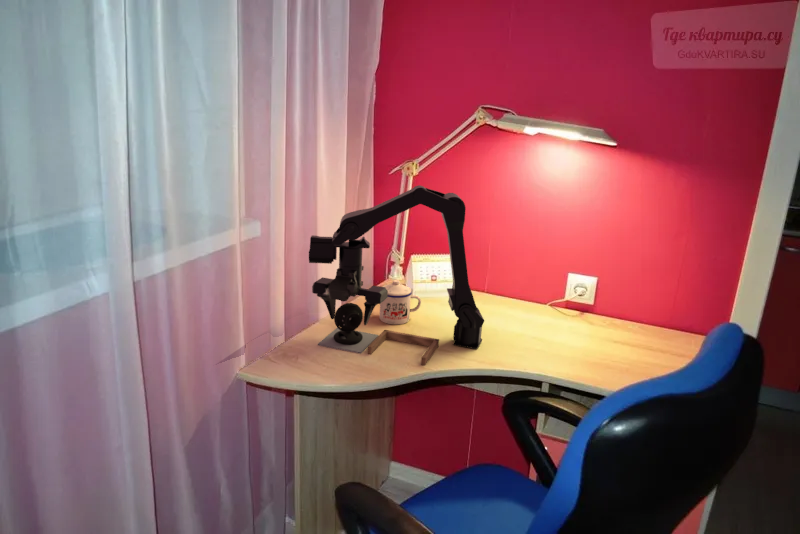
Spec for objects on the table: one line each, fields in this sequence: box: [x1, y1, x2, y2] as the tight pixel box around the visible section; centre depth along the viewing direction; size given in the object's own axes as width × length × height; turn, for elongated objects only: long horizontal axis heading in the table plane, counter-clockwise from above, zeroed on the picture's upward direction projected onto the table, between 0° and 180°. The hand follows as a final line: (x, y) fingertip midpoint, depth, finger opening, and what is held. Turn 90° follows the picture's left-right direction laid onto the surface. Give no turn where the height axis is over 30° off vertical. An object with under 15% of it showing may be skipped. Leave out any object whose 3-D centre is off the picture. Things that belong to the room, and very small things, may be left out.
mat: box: [317, 327, 380, 355], centre depth 156 cm, size 12×12×1 cm
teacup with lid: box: [378, 279, 422, 326], centre depth 170 cm, size 12×9×12 cm
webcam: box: [333, 302, 364, 345], centre depth 154 cm, size 8×8×10 cm
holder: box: [367, 329, 440, 366], centre depth 152 cm, size 15×12×2 cm
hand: (349, 321), depth 154 cm, fingers open, 9 cm apart
